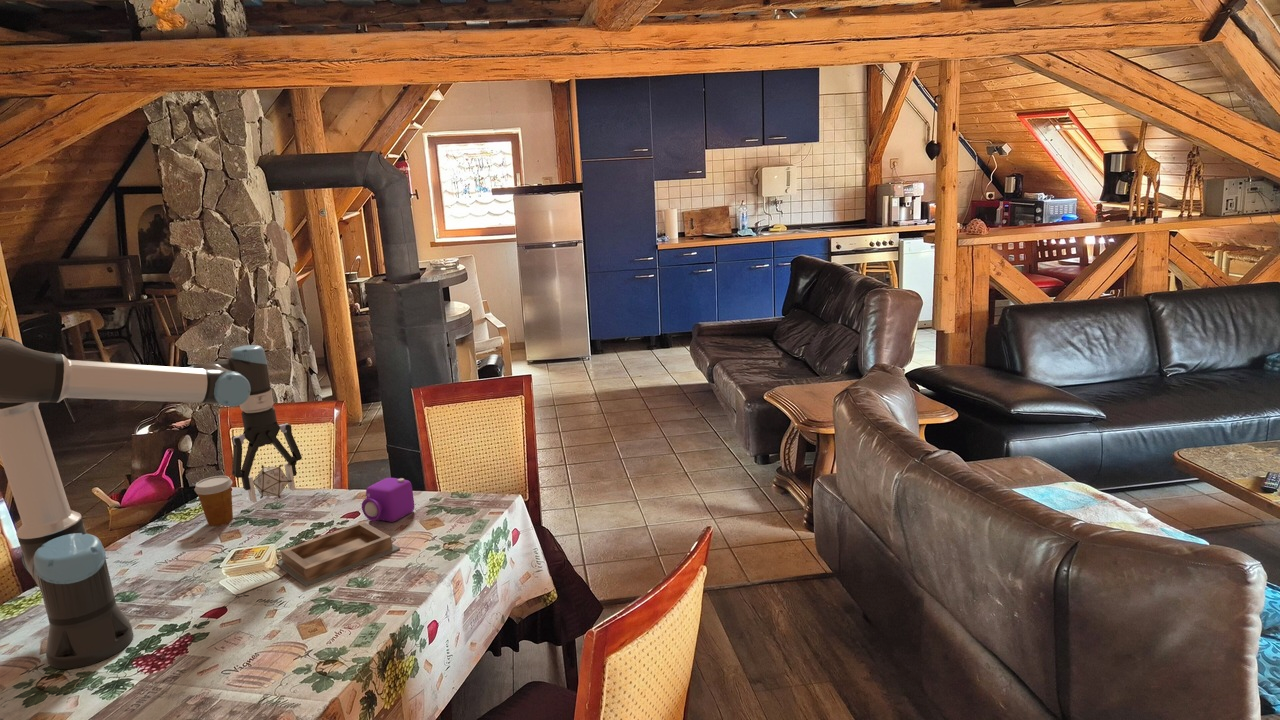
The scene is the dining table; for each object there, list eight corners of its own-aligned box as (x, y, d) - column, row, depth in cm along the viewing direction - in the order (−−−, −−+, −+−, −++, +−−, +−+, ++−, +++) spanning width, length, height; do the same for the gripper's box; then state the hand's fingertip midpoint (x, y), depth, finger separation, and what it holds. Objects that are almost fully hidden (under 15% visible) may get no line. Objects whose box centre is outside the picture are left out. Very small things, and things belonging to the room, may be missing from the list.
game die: (283, 507, 214) (304, 473, 214) (265, 509, 205) (286, 473, 206) (255, 489, 215) (276, 455, 216) (236, 490, 207) (257, 454, 207)
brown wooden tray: (308, 582, 197) (305, 569, 196) (283, 563, 208) (280, 550, 207) (392, 549, 211) (390, 536, 210) (365, 533, 222) (363, 521, 221)
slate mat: (305, 586, 195) (305, 585, 195) (275, 563, 208) (275, 562, 208) (400, 549, 211) (399, 548, 211) (366, 530, 224) (366, 529, 224)
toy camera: (357, 527, 227) (351, 492, 224) (386, 506, 239) (381, 473, 237) (392, 529, 223) (387, 494, 221) (419, 508, 236) (415, 475, 234)
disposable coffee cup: (202, 519, 239) (194, 479, 236) (239, 511, 242) (231, 472, 240) (201, 531, 230) (192, 490, 227) (239, 523, 234) (231, 483, 231)
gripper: (216, 422, 196) (233, 512, 201) (307, 400, 210) (321, 485, 216) (205, 417, 201) (222, 505, 207) (295, 395, 216) (309, 478, 221)
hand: (272, 494), depth 211 cm, fingers closed on game die, 9 cm apart
